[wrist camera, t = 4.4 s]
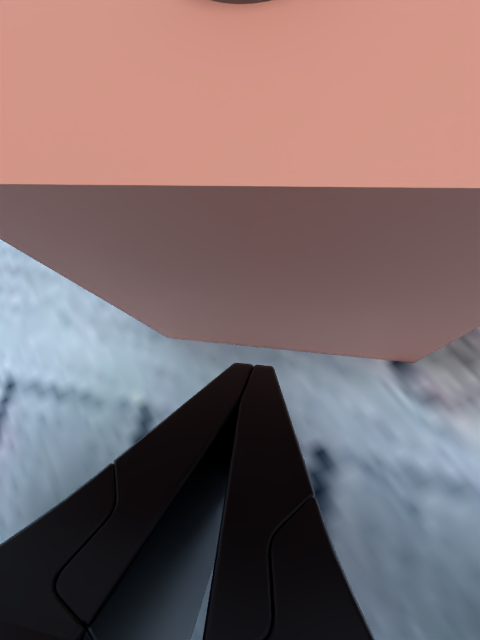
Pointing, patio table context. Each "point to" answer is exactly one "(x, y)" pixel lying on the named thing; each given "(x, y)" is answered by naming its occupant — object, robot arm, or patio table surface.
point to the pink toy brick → (252, 165)
